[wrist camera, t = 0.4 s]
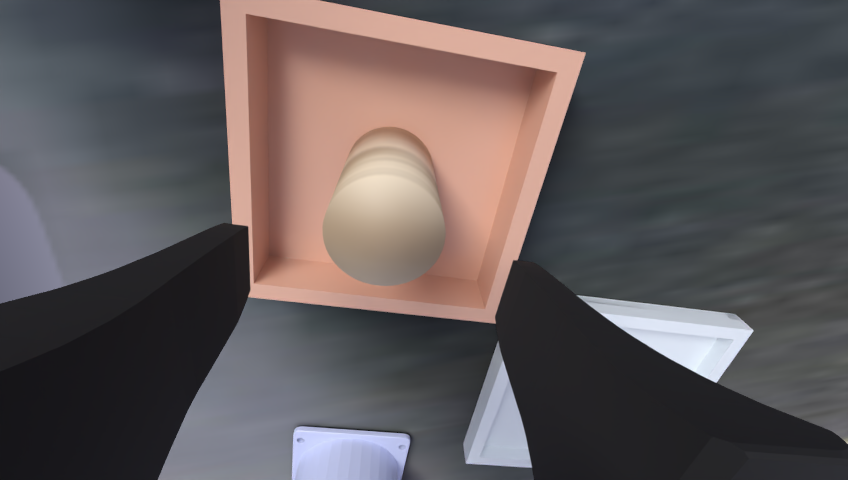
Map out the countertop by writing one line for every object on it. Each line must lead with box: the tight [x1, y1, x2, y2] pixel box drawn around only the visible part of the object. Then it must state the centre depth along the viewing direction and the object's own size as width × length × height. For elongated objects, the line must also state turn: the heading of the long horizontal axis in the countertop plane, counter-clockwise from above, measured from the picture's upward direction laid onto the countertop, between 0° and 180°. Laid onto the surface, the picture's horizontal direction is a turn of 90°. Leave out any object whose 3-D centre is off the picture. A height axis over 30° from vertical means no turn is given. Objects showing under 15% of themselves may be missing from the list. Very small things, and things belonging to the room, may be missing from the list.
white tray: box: [463, 295, 754, 468], centre depth 27 cm, size 14×14×2 cm
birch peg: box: [322, 127, 446, 286], centre depth 16 cm, size 4×4×6 cm
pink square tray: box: [220, 0, 585, 324], centre depth 18 cm, size 13×13×3 cm
